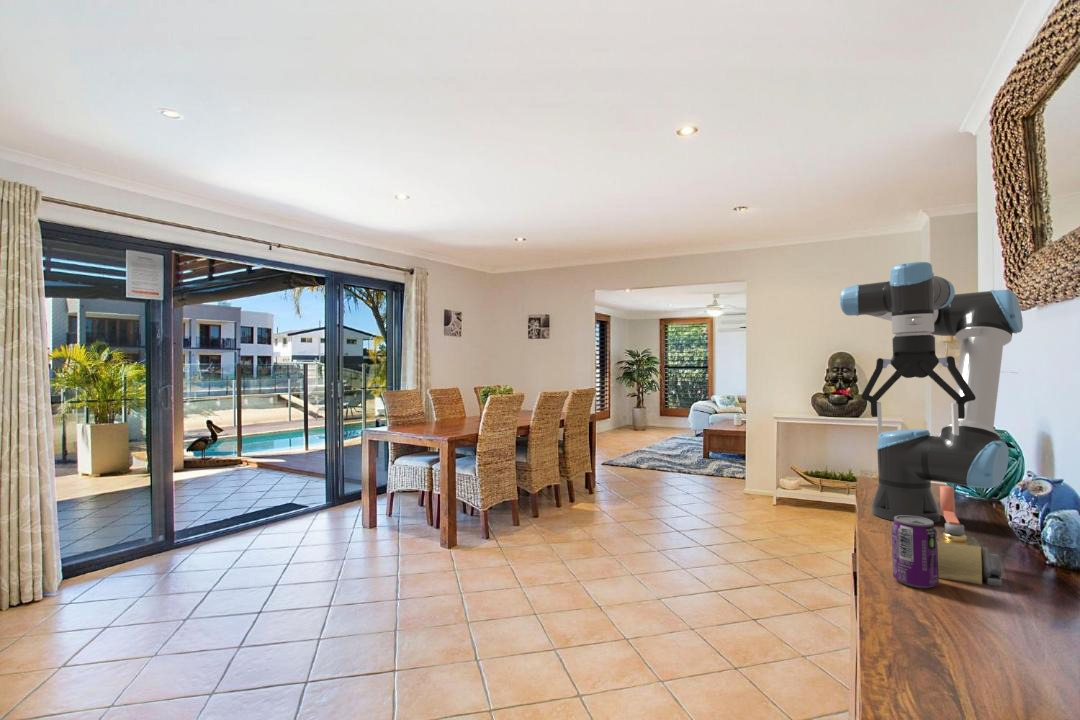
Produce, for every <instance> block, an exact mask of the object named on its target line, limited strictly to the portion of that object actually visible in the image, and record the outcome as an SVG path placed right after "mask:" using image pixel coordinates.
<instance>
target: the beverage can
mask: <svg viewBox="0 0 1080 720" xmlns="http://www.w3.org/2000/svg"><path fill="white" fill-rule="evenodd" d="M894 520H895V521H893V523H892V525H891V552H892V553H891V554H892V557H891V558H892V560H891V561H892V576H893V578H894V579H896V580H897V581H899V582H901V583H902V584H903V585H906V586H908V587H912V588H917V589H930V588H933V587H937V586H938V585H939V583H940V582H939V579H940V578H939V575H938V545H937V533H938V531H937V529H936V528H935V523H934V522H933V521H932V520H930V519H927V518H923V517H918V516H910V515H899V516H895V517H894Z"/></svg>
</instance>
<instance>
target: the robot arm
mask: <svg viewBox="0 0 1080 720" xmlns="http://www.w3.org/2000/svg"><path fill="white" fill-rule="evenodd" d="M889 278H890V279H889V280H888V281H880V282H873V283H863V284H855V285H850V286H846V287H844V288H843V289H842V291H841V293H840V296H839V306H840V309H841V311H842V312H843V314H844V315H846V316H849V317H850V316H856V317H857V316H863V315H864V316H871V317H875V318H879V319H882V320H885V321H890V322H891V332H892V334H893V335H895V336H893V338H892V358H890V359H889V358H888V359H887V358H880V357H878V358H877V359H876V363H875V369H874V371H873V372H872V375H871V376H870V378H869V380H868V382H867V383H866V386H865V387H864V389H863V391H862V393H861V395H860V397H861V400H864V401H867V402H869V403H870V415H871V417H873V418H876V422H877V423H876V424H877V433H879V434H878V436H877V447H876V451H877V452H876V454H877V470H878V471H877V474H878V486H877V489H876V491H875V494H874V497H873V501H872V503H871V513H872V514H873V515H874V516H876V517H879V518H881V519H883V520H884V519H885V520H889V521H893V522H894V521H895V520H894V517H895V516H899V515H910V516H918V517H923V518H927V519H930V520H932V521H933V522H934V524H935V523H939V522H940V521H941V510H940V508H939V506H938V504H937V501H936V499H935V497H934V496H935V495H934V494H933V492H932V483H931V482H936V483H943V484H950V485H958V486H965V487H970V488H983V489H992V488H997V486H999V485H1000V484H1001V482H1002V481H1003V480H1004V478H1005V475H1006V473H1007V470H1008V466H1009V454H1010V452H1009V447H1008V445H1007V444H1006V442H1004V441H1002V439H1001V435H1000V434H999V433H998V432H997V431H996V430H995V429H994V427H995V426H994V424H995V417H996V409H997V400H998V393H999V385H1000V384H999V383H1000V376H1001V368H1002V359H1003V349H1004V346H1006V345H1008V344H1009V343H1011V342H1012V339H1013V334H1019V333H1021V332H1022V331H1023V328H1024V326H1023V325H1024V324H1023V323H1024V322H1023V315H1022V309H1021V305H1020V302H1019V300H1018V297H1017V296H1016V294H1015V292H1013V291H1012V290H1009V289H998V290H997V289H995V290H994V289H991V290H988V291H976V292H975V291H974V292H966V293H956V291H955V287H954V285H953V284H952V282H951V281H949V280H948V279H946V278H944V277H942V276H938V275H934V272H933V265H932V264H931V263H929V261H928V262H927V261H914V262H907V263H906V262H905V263H901V264H897V265H894V266H892V267H891V268H890V274H889ZM935 336H943V337H945V336H946V337H955V340H956V341H957V342H959V343H960V350H959V357H958V359H959V360H958V363H957V364H958V366H957V365H956V360H955V357H954V356H950V355H949V356H948V355H947V356H946V357H945V356H944V357H938V356H937V354H936V338H935ZM938 364H941V365H942V367H944V368H947V370H948V372H949V374H951V376H952V379H954V381H955V387H954V388H953V387H952V386H951V385H950V384H948V383H947V381H945V380H944V379H943V378H942V377H941V376H940V375H939V374H938V373H937V372H936V371H934V369H935V368H936V367H937V366H938ZM888 365H891V366H892V367H893V368H894V369H895V371H894V372H893V373H892V374H891V376H890V377H889V378H888V379H887V380H886V381H885V382H884V383H883V385H881V386H880V387H879V389H878V390H877V391H876V392H875V393H874V394H873V395H870V394H871V393H872V390H873V388H874V386H875V385H876V383H877V380H878V379H879V377H880V376H881V373H882V372H883V369H886V368H887V367H888ZM901 377H903V378H905V379H913V378H918V379H925V378H926V377H929V378H930V379H931V380H932V381H934V382H935V384H937V386H939V387H940V388H941V389H942V390H943V391H945V393H946V394H947V395H948V396H950V397H951V398H952V402H951V403H950V404H951V415H950V423H948V424H946V425H944V426H943V427H942V428H941V430H940V436H939V435H937V436H936V435H931V432H930V431H929V430H928V429H926V428H925V429H923V428H920V429H919V428H917V429H916V428H915V429H912V428H911V429H899V430H898V429H897V430H887V431H883V424H882V423H883V422H882V420H883V419H882V418H883V417H882V402H880V401H879V400H880V399H881V398H882V397H883V396H884V395H885V394H886V393H887V391H888V390H889V389H890V388H892V386H893V385H894V384H895V383H896V382H897V381H898V380H899V379H900V378H901ZM878 401H879V402H878Z"/></svg>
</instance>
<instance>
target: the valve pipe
mask: <svg viewBox="0 0 1080 720" xmlns="http://www.w3.org/2000/svg"><path fill="white" fill-rule="evenodd" d="M937 545H938V575H939V579H943V580H949V581H950V580H951V581H956V582H961V583H962V582H965V583H968V584H969V583H970V584H977V585H983V581H985V582H986V584H987V585H991V586H996V587H997V586H999V587H1003V586H1002V585H1003V583H1002V578H1001V577H1002V563H1001V557H1000V555H999V554H996V553H990V551H989V549H988V547H984V546H981V544H980V542H978V540H977V538H976V537H975V536H968V535H966V534H965V533H964V535H954V534H949V533H946V532H945V531H943V532H937Z"/></svg>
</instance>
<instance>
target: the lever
mask: <svg viewBox="0 0 1080 720" xmlns="http://www.w3.org/2000/svg"><path fill="white" fill-rule="evenodd" d="M939 496H940V497H939V501H940V503H939V505H940V508H939V510H940V516H943V517H944V520H945V523H944V532H946V533H949V534H954V535H964V534H965V525H963V524H961V523H960V521H959V519H958V517H957V515H956V509H955V508H956V507H955V503H956V502H955V487H953V486H949V485H939Z"/></svg>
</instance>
